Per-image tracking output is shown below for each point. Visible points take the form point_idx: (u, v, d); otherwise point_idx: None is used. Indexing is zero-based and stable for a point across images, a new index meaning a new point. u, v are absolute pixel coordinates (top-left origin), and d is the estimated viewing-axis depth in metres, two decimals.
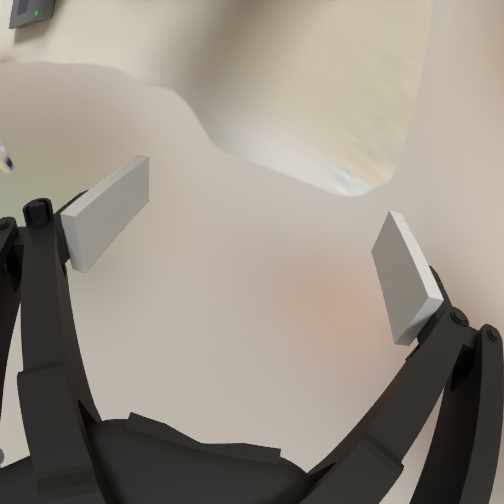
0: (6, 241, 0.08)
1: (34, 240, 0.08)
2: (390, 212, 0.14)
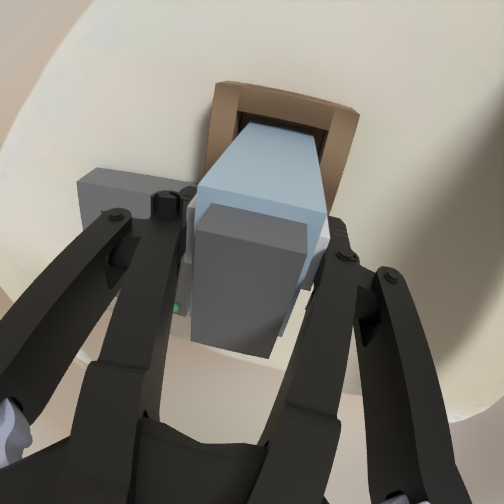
0: (114, 236, 0.09)
1: (155, 231, 0.10)
2: None
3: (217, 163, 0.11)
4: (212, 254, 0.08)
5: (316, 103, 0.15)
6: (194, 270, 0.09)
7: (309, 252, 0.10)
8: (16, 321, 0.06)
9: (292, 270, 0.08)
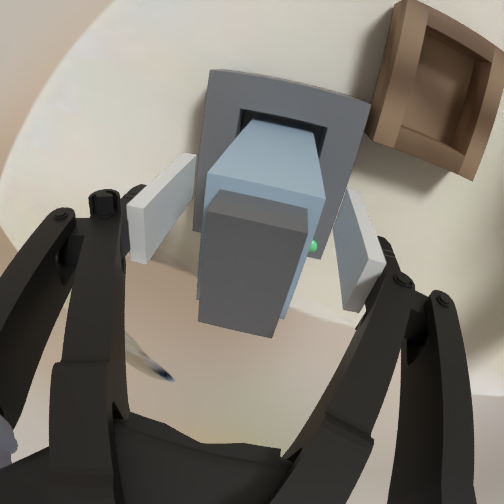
0: (61, 234, 0.09)
1: (96, 230, 0.09)
2: (347, 189, 0.15)
3: (224, 154, 0.11)
4: (221, 234, 0.09)
5: (483, 38, 0.10)
6: (204, 250, 0.09)
7: (309, 235, 0.10)
8: None
9: (294, 248, 0.09)
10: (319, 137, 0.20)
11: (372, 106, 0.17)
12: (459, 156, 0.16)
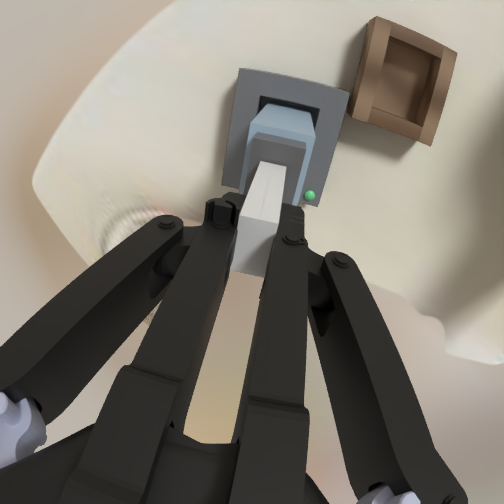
0: (162, 246, 0.09)
1: (207, 239, 0.10)
2: (273, 165, 0.16)
3: (256, 117, 0.18)
4: (260, 151, 0.16)
5: (434, 41, 0.18)
6: (249, 161, 0.17)
7: (307, 158, 0.18)
8: (47, 323, 0.06)
9: (299, 158, 0.16)
10: (315, 117, 0.27)
11: (352, 94, 0.25)
12: (418, 127, 0.23)
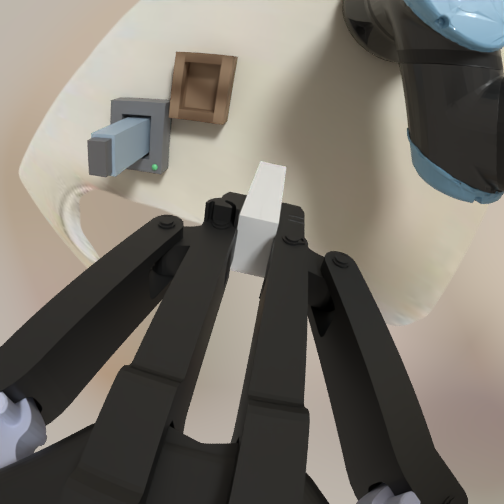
0: (162, 246, 0.09)
1: (207, 239, 0.10)
2: (273, 165, 0.16)
3: (100, 129, 0.35)
4: (90, 145, 0.33)
5: (215, 54, 0.34)
6: (88, 150, 0.33)
7: (113, 145, 0.34)
8: (46, 323, 0.06)
9: (103, 146, 0.33)
10: None
11: None
12: (210, 114, 0.40)
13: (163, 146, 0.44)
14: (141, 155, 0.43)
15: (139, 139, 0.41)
